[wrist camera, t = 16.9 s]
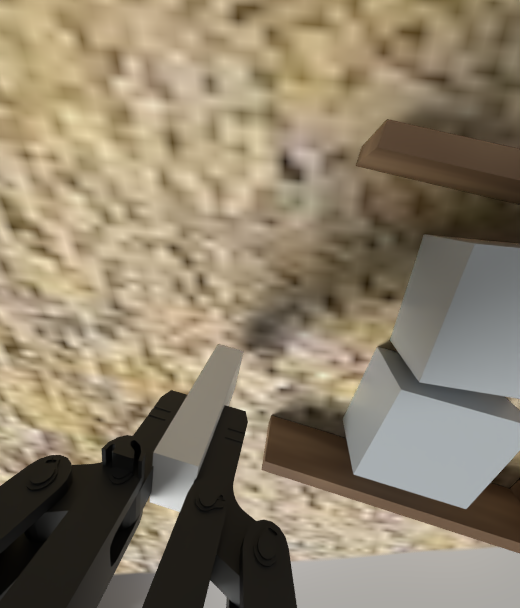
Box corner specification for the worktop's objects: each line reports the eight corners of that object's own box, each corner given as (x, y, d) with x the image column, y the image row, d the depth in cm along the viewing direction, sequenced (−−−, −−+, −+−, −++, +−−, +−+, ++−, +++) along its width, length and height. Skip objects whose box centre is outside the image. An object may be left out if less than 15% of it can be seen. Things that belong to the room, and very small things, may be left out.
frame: (362, 146, 11) (387, 119, 8) (788, 244, 10) (1020, 260, 7) (268, 423, 18) (261, 469, 15) (517, 500, 17) (569, 569, 14)
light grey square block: (422, 234, 12) (474, 243, 8) (556, 247, 12) (677, 263, 8) (388, 338, 14) (419, 382, 11) (500, 354, 14) (573, 407, 10)
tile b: (376, 345, 15) (401, 389, 11) (478, 372, 14) (539, 428, 11) (342, 417, 17) (353, 474, 13) (429, 442, 16) (466, 509, 13)
